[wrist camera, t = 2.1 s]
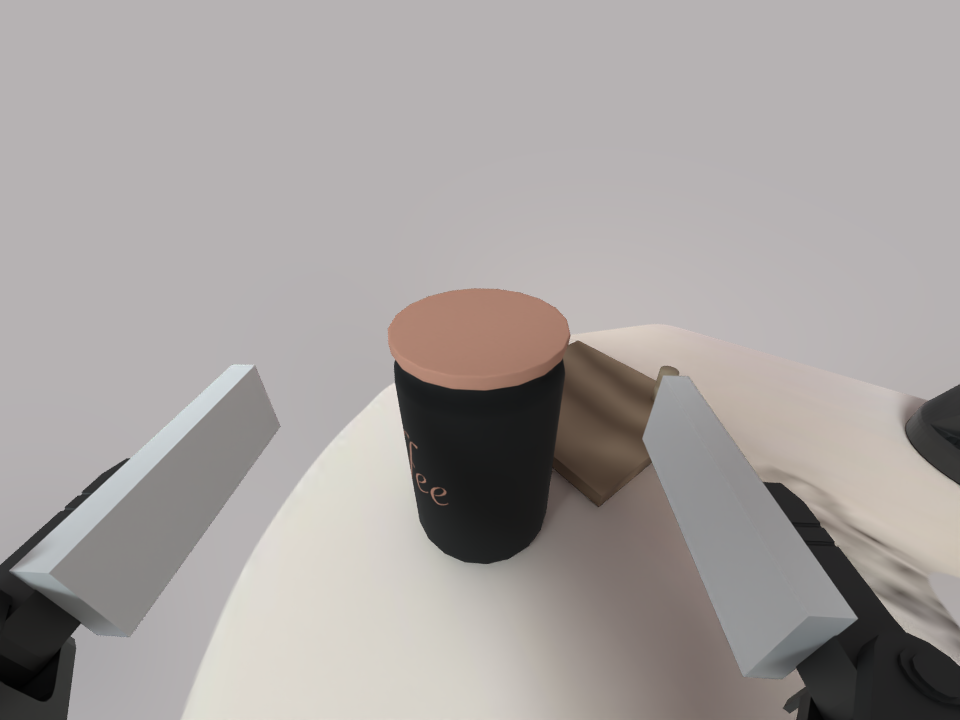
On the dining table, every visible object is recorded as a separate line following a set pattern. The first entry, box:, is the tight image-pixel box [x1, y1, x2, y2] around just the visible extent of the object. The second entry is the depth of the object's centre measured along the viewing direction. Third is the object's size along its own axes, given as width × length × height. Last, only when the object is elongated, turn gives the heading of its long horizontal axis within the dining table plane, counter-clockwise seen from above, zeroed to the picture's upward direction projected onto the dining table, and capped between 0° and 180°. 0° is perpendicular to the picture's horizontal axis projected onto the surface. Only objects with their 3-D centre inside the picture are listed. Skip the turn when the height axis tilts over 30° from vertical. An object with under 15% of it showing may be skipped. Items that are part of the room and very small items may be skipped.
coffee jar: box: [388, 289, 570, 564], centre depth 27 cm, size 11×11×18 cm
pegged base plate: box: [552, 341, 679, 507], centre depth 41 cm, size 18×18×6 cm
